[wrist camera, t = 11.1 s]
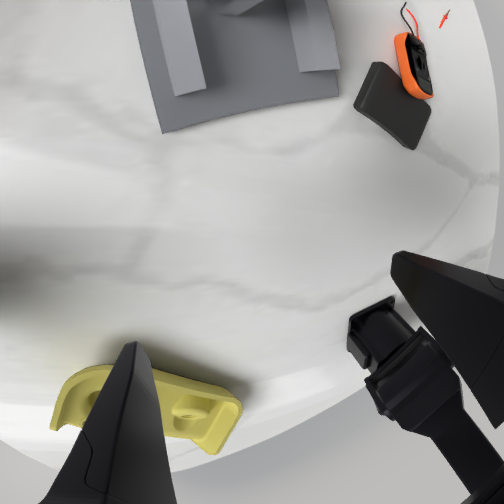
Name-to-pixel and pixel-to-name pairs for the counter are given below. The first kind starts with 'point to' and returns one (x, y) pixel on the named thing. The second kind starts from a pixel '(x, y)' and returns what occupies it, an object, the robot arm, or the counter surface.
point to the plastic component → (171, 404)
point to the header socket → (234, 57)
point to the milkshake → (235, 6)
